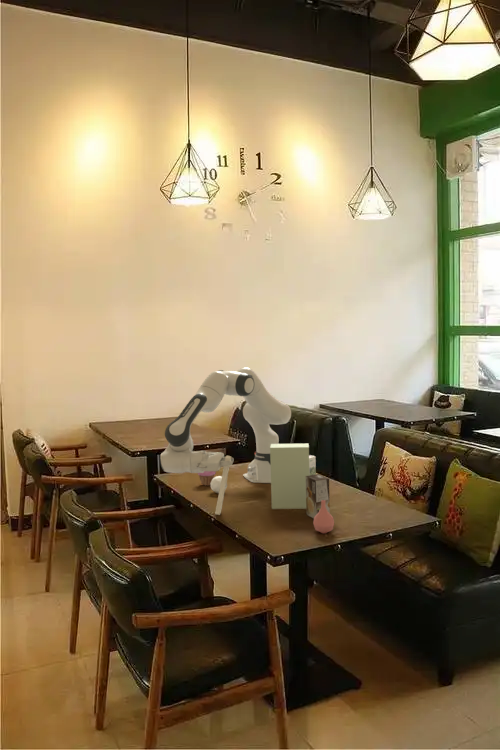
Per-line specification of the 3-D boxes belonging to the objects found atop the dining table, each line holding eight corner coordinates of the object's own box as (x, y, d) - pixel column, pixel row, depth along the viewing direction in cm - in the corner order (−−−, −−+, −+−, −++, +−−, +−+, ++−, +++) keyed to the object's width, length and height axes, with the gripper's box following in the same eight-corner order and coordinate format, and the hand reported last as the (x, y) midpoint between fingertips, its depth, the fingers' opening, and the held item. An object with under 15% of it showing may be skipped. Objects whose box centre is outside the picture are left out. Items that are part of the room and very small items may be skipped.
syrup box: (305, 484, 312) (304, 454, 311) (316, 485, 309) (315, 455, 307) (299, 487, 307) (298, 456, 306) (310, 488, 304) (309, 458, 303)
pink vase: (315, 528, 247) (315, 497, 246) (335, 529, 244) (335, 498, 243) (311, 535, 239) (311, 503, 238) (332, 536, 237) (331, 504, 236)
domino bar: (225, 457, 265) (230, 458, 265) (226, 455, 269) (231, 456, 269) (215, 514, 267) (219, 515, 267) (216, 511, 271) (221, 512, 271)
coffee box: (330, 518, 258) (330, 478, 257) (316, 520, 256) (315, 480, 255) (319, 512, 267) (318, 473, 266) (305, 514, 264) (304, 475, 263)
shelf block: (271, 508, 274) (270, 447, 271) (272, 503, 281) (270, 443, 279) (310, 508, 272) (308, 447, 270) (309, 503, 280) (308, 443, 278)
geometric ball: (218, 499, 300) (211, 488, 295) (212, 489, 306) (205, 478, 302) (232, 490, 301) (225, 479, 296) (225, 480, 307) (219, 469, 303)
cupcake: (219, 485, 315) (218, 464, 314) (203, 488, 310) (203, 467, 310) (210, 481, 323) (209, 461, 322) (194, 484, 318) (193, 464, 317)
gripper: (195, 459, 257) (230, 459, 256) (202, 449, 278) (234, 449, 277) (195, 475, 258) (230, 475, 257) (203, 464, 278) (235, 463, 277)
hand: (232, 461), depth 267 cm, fingers closed on domino bar, 4 cm apart
